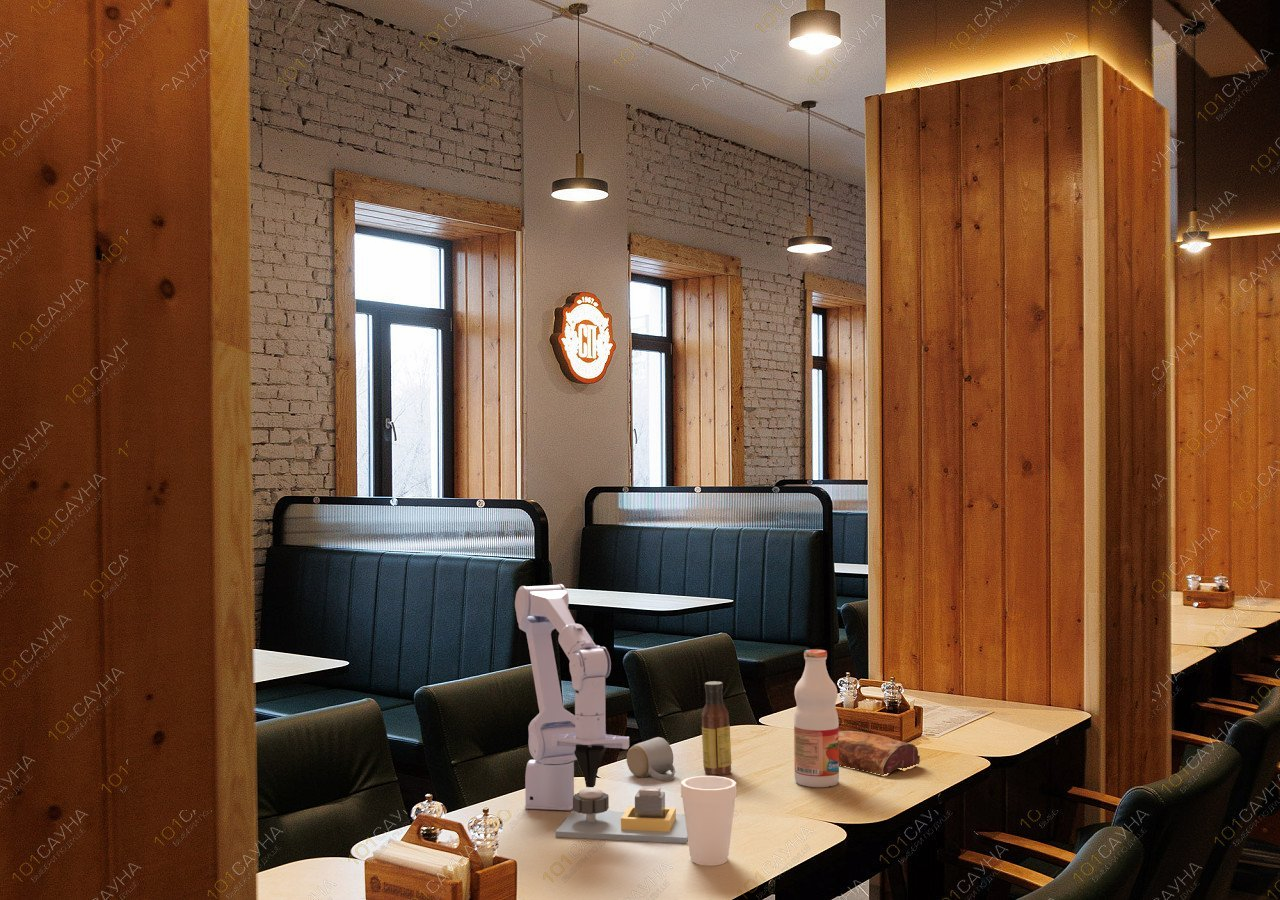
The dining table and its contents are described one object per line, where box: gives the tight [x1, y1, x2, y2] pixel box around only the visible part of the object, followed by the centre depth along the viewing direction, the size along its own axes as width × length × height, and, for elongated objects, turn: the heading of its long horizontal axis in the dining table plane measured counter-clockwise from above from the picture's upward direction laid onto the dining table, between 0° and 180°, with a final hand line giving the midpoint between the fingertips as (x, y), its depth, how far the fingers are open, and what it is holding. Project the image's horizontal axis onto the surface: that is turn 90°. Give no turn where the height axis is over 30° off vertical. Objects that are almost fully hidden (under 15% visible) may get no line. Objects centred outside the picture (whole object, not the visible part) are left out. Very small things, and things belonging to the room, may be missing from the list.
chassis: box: [555, 805, 688, 844], centre depth 214 cm, size 24×14×3 cm, turn 80°
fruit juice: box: [793, 649, 840, 788], centre depth 246 cm, size 9×9×28 cm
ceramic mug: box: [626, 736, 676, 782], centre depth 252 cm, size 11×8×8 cm
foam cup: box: [680, 775, 738, 867], centre depth 197 cm, size 10×9×13 cm
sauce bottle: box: [700, 680, 733, 776], centre depth 255 cm, size 7×6×20 cm
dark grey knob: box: [572, 788, 610, 814], centre depth 216 cm, size 6×6×3 cm
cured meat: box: [838, 730, 921, 775], centre depth 265 cm, size 18×25×7 cm
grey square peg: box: [634, 786, 666, 819], centre depth 214 cm, size 5×4×6 cm
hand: (590, 785), depth 216 cm, fingers closed
